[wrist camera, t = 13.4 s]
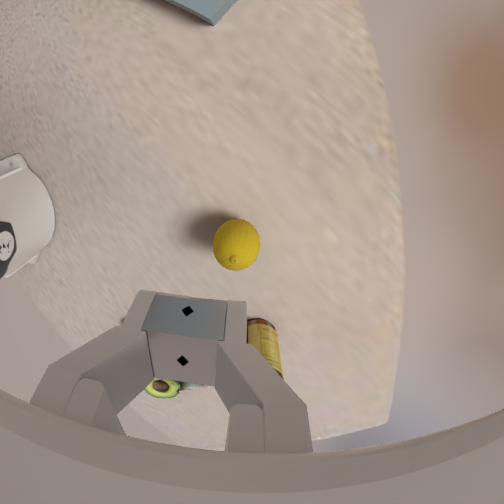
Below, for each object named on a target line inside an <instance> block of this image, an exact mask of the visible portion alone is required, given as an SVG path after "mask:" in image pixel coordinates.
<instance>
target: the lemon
mask: <svg viewBox="0 0 504 504" xmlns="http://www.w3.org/2000/svg"><path fill="white" fill-rule="evenodd" d="M259 249H260V238H259V235H258V233H257V230H256V229H255V228H254V226H253V225H252V224H250V223H249V222H247V221H245V220H241V219H232V220H229V221H226V222H225V223H223V224H222V225H221V226H220V227H219V228H218V229H217V231H216V233H215V235H214V239H213V252H214V255H215V257H216V259H217V261H218V262H219V263H220V264H221V265H222V266H223V267H225V268H227V269H230V270H243V269H245V268H247V267H249V266H250V265H251V264H252V263H253V262H254V261H255V260H256V258H257V255H258V253H259Z"/></svg>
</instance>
